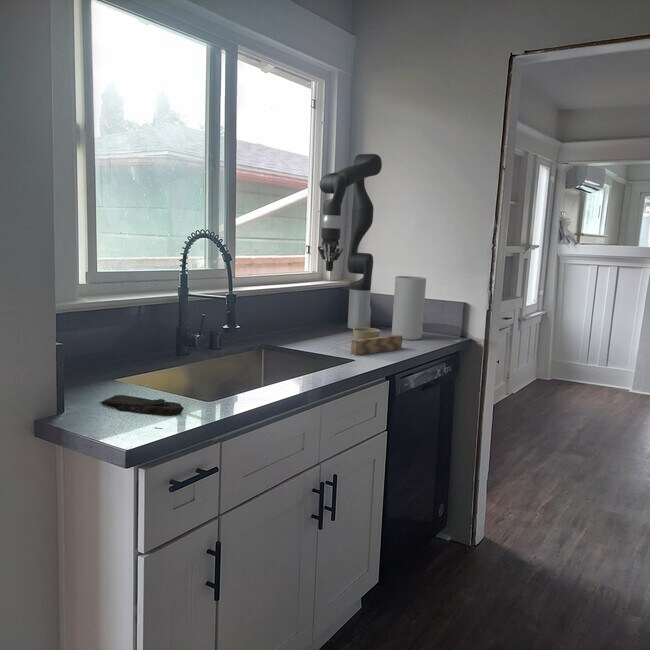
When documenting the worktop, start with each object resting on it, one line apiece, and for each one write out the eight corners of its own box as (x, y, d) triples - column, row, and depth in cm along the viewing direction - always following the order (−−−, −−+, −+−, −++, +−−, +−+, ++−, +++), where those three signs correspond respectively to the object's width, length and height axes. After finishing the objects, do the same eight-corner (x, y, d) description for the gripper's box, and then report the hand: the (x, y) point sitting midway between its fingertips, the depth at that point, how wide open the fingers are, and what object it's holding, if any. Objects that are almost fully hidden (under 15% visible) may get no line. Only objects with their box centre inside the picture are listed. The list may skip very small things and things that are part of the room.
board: (396, 347, 236) (397, 334, 235) (401, 348, 234) (402, 335, 233) (350, 354, 220) (351, 339, 220) (355, 355, 219) (356, 340, 218)
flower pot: (384, 349, 232) (385, 330, 231) (367, 352, 225) (368, 332, 224) (364, 344, 239) (365, 326, 238) (346, 347, 232) (347, 328, 231)
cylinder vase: (389, 334, 265) (393, 275, 260) (418, 335, 265) (422, 276, 261) (393, 339, 252) (398, 278, 248) (424, 341, 253) (429, 279, 249)
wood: (90, 407, 148) (90, 395, 147) (111, 399, 155) (111, 387, 154) (170, 422, 140) (170, 409, 140) (189, 413, 147) (189, 400, 147)
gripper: (349, 228, 243) (347, 272, 246) (327, 226, 253) (325, 269, 256) (335, 227, 238) (333, 272, 241) (313, 226, 248) (311, 269, 251)
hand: (329, 270), depth 249 cm, fingers closed
